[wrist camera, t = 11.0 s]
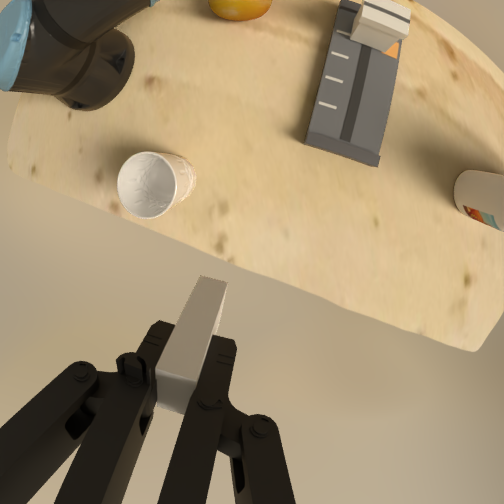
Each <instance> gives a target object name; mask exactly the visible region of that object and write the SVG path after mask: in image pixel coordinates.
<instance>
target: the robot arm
mask: <svg viewBox="0 0 504 504" xmlns="http://www.w3.org/2000/svg"><path fill="white" fill-rule="evenodd" d="M158 1H159V0H12V1H11V2H10V3H9V4H8V5H7V6H6V7H5V8H4V9H3V10H2V12H1V13H0V89H1V90H2V91H14V92H27V93H37V94H47V95H53V96H55V97H56V98H57V99H59V100H60V101H61V102H63V103H64V104H65V105H66V106H68V107H70V108H72V109H75V110H81V111H92V110H96V109H99V108H101V107H103V106H104V105H106V104H108V103H109V102H110V101H111V100H113V99H114V98H115V97H116V96H117V95H118V94H119V92H120V91H121V90H122V89H123V87H124V86H125V84H126V82H127V81H128V79H129V77H130V74H131V72H132V69H133V65H134V58H135V52H134V47H133V44H132V42H131V40H130V39H129V37H128V36H126V35H125V34H123V33H122V32H120V31H119V30H117V29H114V27H116V26H117V25H119V24H120V23H122V22H124V21H125V20H127V19H128V18H130V17H132V16H133V15H135V14H136V13H138V12H140V11H142V10H143V9H145V8H147V7H152V6H153V5H154V4H155V3H156V2H158ZM227 285H228V282H224V281H220V280H216V279H212V278H208V277H204V276H200V277H199V279H198V281H197V283H196V285H195V287H194V289H193V291H192V293H191V295H190V297H189V299H188V301H187V303H186V305H185V307H184V309H183V311H182V313H181V315H180V317H179V319H178V321H177V323H176V325H174V324H170V323H167V322H163V321H160V320H159V321H158V322H156V323H155V324H153V325H152V326H151V327H150V329H149V330H148V332H147V335H146V336H145V338H144V339H143V342H142V343H141V345H140V346H139V348H138V350H137V352H136V353H134V352H129V353H124V354H122V355H120V356H119V357H118V358H117V359H116V364H117V369H118V372H102V371H97V370H96V368H95V367H94V366H93V365H92V364H90V363H88V362H85V361H79V362H74V363H73V364H71V365H70V366H68V367H67V368H66V369H65V370H64V371H63V372H62V373H61V374H59V375H58V376H57V377H56V378H55V379H54V380H52V381H51V382H50V383H49V384H48V385H47V386H46V387H45V388H44V389H42V391H40V392H39V393H38V394H37V395H36V396H35V397H34V398H32V399H31V401H29V402H28V403H27V404H26V405H25V406H24V407H23V408H21V410H19V411H18V412H17V413H16V414H15V415H14V416H13V417H12V418H11V419H10V420H9V421H7V422H6V423H5V424H4V425H3V426H2V427H1V428H0V504H27V502H28V501H29V500H30V499H31V498H32V497H33V496H34V495H35V494H36V493H37V491H38V490H39V489H40V488H41V487H42V486H43V485H44V484H45V483H46V481H47V480H48V479H49V478H50V477H51V476H52V475H53V474H54V473H55V472H56V470H57V469H58V468H59V467H60V466H61V465H62V464H63V463H64V462H65V460H66V459H67V458H68V457H69V456H70V455H71V454H72V453H73V452H74V450H75V449H76V448H77V447H78V446H79V445H80V444H81V445H80V447H79V449H78V451H77V453H76V456H75V458H74V460H73V462H72V464H71V466H70V468H69V471H68V473H67V475H66V477H65V479H64V481H63V484H62V486H61V488H60V490H59V493H58V495H57V497H56V500H55V502H54V504H121V503H122V500H123V497H124V495H125V492H126V489H127V486H128V483H129V480H130V477H131V475H132V472H133V469H134V467H135V464H136V461H137V458H138V456H139V453H140V450H141V447H142V445H143V442H144V439H145V437H146V434H147V432H148V429H149V426H150V424H151V421H152V419H153V413H154V412H153V409H154V407H155V404H156V402H157V407H161V408H164V409H167V410H170V411H173V412H177V413H180V414H183V415H184V419H183V422H182V425H181V428H180V431H179V435H178V438H177V441H176V444H175V447H174V450H173V454H172V457H171V460H170V463H169V467H168V470H167V473H166V476H165V480H164V483H163V487H162V490H161V493H160V496H159V500H158V503H157V504H206V499H207V494H208V489H209V485H210V480H211V476H212V471H213V466H214V461H215V456H216V452H217V450H218V451H220V452H222V453H224V454H226V455H228V456H229V457H230V465H231V473H232V481H233V488H234V496H235V503H236V504H296V503H295V499H294V494H293V490H292V486H291V482H290V478H289V473H288V469H287V465H286V461H285V456H284V452H283V447H282V443H281V439H280V434H279V430H278V427H277V425H276V423H275V422H274V421H273V420H272V419H271V418H270V417H267V416H265V415H260V414H255V415H250V416H248V415H246V414H244V413H242V412H241V411H239V410H237V409H236V408H235V407H234V406H233V405H232V404H231V402H230V401H229V398H228V391H229V386H230V381H231V376H232V371H233V366H234V362H235V356H236V351H237V347H236V344H235V341H234V340H233V339H228V338H224V337H220V336H216V333H217V329H218V326H219V323H220V319H221V314H222V309H223V304H224V299H225V295H226V290H227Z"/></svg>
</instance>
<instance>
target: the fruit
mask: <svg viewBox="0 0 504 504" xmlns="http://www.w3.org/2000/svg"><path fill="white" fill-rule="evenodd" d="M208 2H209V5H210V8H211V9H212V11H213V12H214V13H215V14H217V15H218V16H220V17H222V18H225V19H229V20H236V21H246V20H252V19H256V18H258V17H260V16H262V15H264V14H265V13H266V12H267V11H268V9H269V8H270V6H271V3H272V0H208Z"/></svg>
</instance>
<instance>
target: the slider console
mask: <svg viewBox="0 0 504 504" xmlns="http://www.w3.org/2000/svg"><path fill="white" fill-rule="evenodd" d="M360 7H361V4H358V3H355V2H352V1H349V0H341V1H340V4H339V6H338V10H337V14H336V19H335V23H334V27H333V31H332V35H331V40H330V44H329V48H328V52H327V56H326V60H325V64H324V68H323V72H322V76H321V80H320V84H319V88H318V92H317V96H316V100H315V103H314V107H313V111H312V115H311V119H310V122H309V126H308V130H307V134H306V138H305V141H304V145H308V146H311V147H315V148H318V149H321V150H324V151H327V152H331V153H334V154H337V155H340V156H343V157H346V158H349V159H351V160H354V161H357V162H360V163H363V164H366V165H368V166H371V167H378V164H379V160H380V156H379V151H380V147H381V143H382V139H383V135H384V131H385V127H386V123H387V118H388V114H389V110H390V105H391V100H392V95H393V90H394V85H395V80H396V75H397V69H398V63H399V57H400V50H401V44H402V39H399V40H398V41H397V42H396V43H395V44H393V45H392V46H391V47H390V48H389V49H388V50H387V51H386V52H385V53H384V52H382V51H380V50H377V49H375V48H372V47H370V46H367V45H364V44H362V43H359V42H356V41H353V40H350V36H351V32H352V27H353V22H354V18H355V16H356V15H357V13H358V11H359V9H360Z"/></svg>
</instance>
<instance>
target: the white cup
mask: <svg viewBox="0 0 504 504" xmlns="http://www.w3.org/2000/svg"><path fill="white" fill-rule="evenodd" d="M196 177H197V176H196V173H195V169H194V166H193V165H192V164H191V163H190V162H189V161H188V160H187V159H186V158H183V157H180V156H177V155H172V154H167V153H158V152H149V151H145V152H139V153H136V154H134V155H133V156H131V157H130V158H128V159H127V160H126V161H125V163H124V164H123V165H122V167H121V169H120V171H119V174H118V179H117V192H118V196H119V199H120V201H121V203H122V205H123V206H124V208H125V209H126V210H127V211H128V212H129V213H131V214H132V215H134V216H136V217H138V218H142V219H153V218H156V217H159V216H160V215H162V214H164V213H165V212H167V211H168V210H170V209H171V208H173V207H174V206H176V205H178V204H179V203H180V202H182V201H183V200H184V199H185V198H186V197H188V196H189V195H190V194H191V192H192V191H193V189H194V188H195V185H196Z"/></svg>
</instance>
